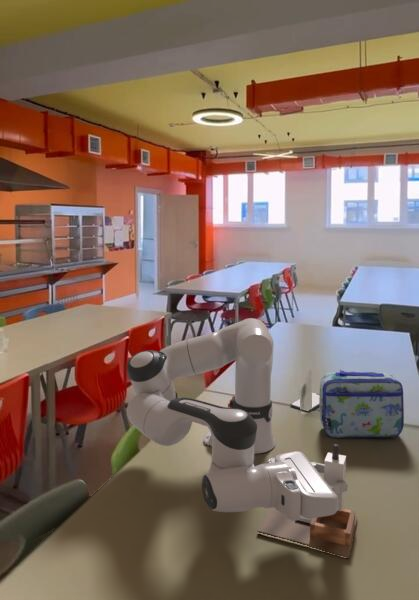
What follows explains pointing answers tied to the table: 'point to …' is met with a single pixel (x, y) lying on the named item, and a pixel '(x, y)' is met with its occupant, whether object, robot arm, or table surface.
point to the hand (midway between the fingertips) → (338, 476)
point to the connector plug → (335, 471)
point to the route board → (314, 530)
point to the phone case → (314, 402)
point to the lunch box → (361, 404)
